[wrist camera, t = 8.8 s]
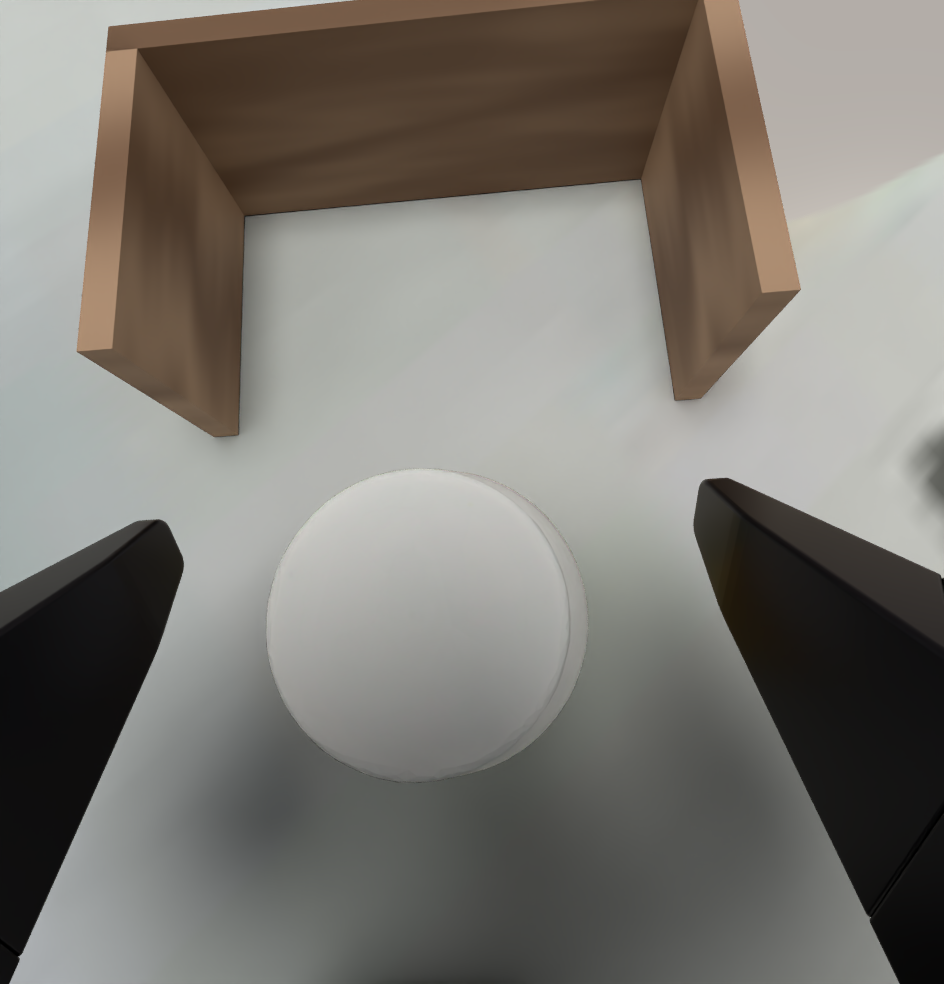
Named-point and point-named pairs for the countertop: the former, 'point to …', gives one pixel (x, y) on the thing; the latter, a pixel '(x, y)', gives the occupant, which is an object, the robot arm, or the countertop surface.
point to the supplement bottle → (426, 625)
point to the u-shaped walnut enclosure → (420, 160)
